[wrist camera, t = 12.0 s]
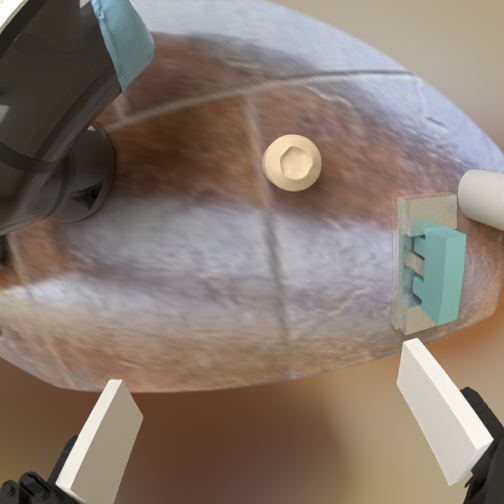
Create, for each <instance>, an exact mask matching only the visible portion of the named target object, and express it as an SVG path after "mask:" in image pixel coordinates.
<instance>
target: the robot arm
mask: <svg viewBox="0 0 504 504" xmlns="http://www.w3.org/2000/svg"><path fill="white" fill-rule="evenodd" d="M154 53H155V45H154V42H153V39H152V37H151V35H150V33H149V31H148V29H147V27H146V26H145V24H144V22H143V21H142V19H141V17H140V16H139V14H138V13H137V11H136V10H135V9H134V7H133V6H132V4H131V3H130V2H129V0H0V236H2V235H4V234H7V233H9V232H12V231H14V230H17V229H19V228H22V227H24V226H27V225H29V224H32V223H35V222H37V221H40V220H43V219H45V220H50V221H56V222H61V223H70V222H75V221H78V220H81V219H83V218H86V217H88V216H90V215H91V214H93V213H94V212H95V211H96V210H98V209H99V207H100V206H101V205H102V204H103V202H104V201H105V199H106V198H107V196H108V194H109V192H110V189H111V186H112V183H113V179H114V173H115V155H114V149H113V146H112V143H111V140H110V138H109V136H108V134H107V133H106V131H105V130H104V129H103V128H102V127H101V126H100V125H99V124H98V123H97V122H95V120H96V119H97V118H98V117H99V116H100V115H101V113H102V112H103V111H104V110H105V109H106V108H107V107H108V106H109V105H110V104H111V103H112V102H113V101H114V100H115V99H116V98H117V97H118V96H119V95H120V94H121V93H122V94H123V93H124V92H125V91H126V90H127V86H128V85H129V84H130V83H131V82H132V81H133V80H134V79H135V78H136V77H137V76H138V75H139V74H140V73H141V72H142V71H143V70H144V69H145V68H146V67H147V66H148V65H149V64H150V63H151V61H152V59H153V57H154ZM397 386H398V388H399V390H400V391H401V393H402V395H403V397H404V399H405V400H406V402H407V404H408V406H409V408H410V409H411V411H412V413H413V415H414V417H415V419H416V421H417V422H418V424H419V426H420V428H421V430H422V432H423V434H424V436H425V437H426V439H427V441H428V443H429V445H430V447H431V449H432V451H433V453H434V455H435V457H436V459H437V461H438V463H439V465H440V467H441V469H442V471H443V473H444V476H445V477H446V480H447V482H448V484H449V486H450V485H452V484H454V483H456V482H458V481H459V480H461V479H463V478H465V477H466V476H467V474H468V473H469V472H470V471H471V472H472V473H473V476H472V477H471V478H470V480H469V481H468V482H467V483H466V485H465V488H466V487H467V486H468V485H469V484H470V485H469V488H468V491H467V494H466V497H465V500H464V503H463V504H504V427H503V426H502V424H501V423H500V422H499V420H498V419H497V417H496V416H495V415H494V414H493V412H492V411H491V409H490V408H488V406H487V404H486V403H485V402H484V401H483V399H482V398H481V396H480V395H479V394H478V393H477V392H476V391H474V390H472V389H471V388H469V387H466V388H464V389H462V390H460V391H459V390H458V388H457V387H456V386H455V384H454V383H453V382H452V381H451V379H450V378H449V377H448V375H447V374H446V373H445V371H444V370H443V369H442V368H441V366H440V365H439V364H438V363H437V361H436V360H435V359H434V358H433V356H432V355H431V354H430V353H429V351H428V350H427V349H426V348H425V347H424V345H423V344H422V343H421V342H420V340H419V339H418V338H414V339H411V340H408V341H405V342H403V348H402V355H401V361H400V367H399V374H398V379H397ZM142 420H143V415H142V414H141V412H140V411H139V409H138V407H137V405H136V404H135V402H134V400H133V398H132V396H131V395H130V393H129V391H128V389H127V387H126V386H125V384H124V382H123V380H109V382H108V384H107V385H106V387H105V389H104V391H103V393H102V394H101V396H100V398H99V400H98V401H97V404H96V405H95V407H94V409H93V411H92V413H91V414H90V416H89V418H88V420H87V422H86V424H85V425H84V427H83V429H82V431H81V433H80V435H79V436H76V435H74V436H73V437H72V438H71V439H70V440H69V441H68V442H67V444H66V446H65V448H64V450H63V452H62V453H61V455H60V459H58V461H57V463H56V465H55V467H54V469H53V471H52V473H51V475H50V477H49V479H48V481H47V482H46V481H44V480H43V479H42V478H41V477H40V476H39V475H38V474H37V473H35V472H32V471H31V472H26V473H24V474H23V475H22V476H21V477H20V479H19V482H18V484H17V483H16V482H15V481H13V480H8V481H6V482H4V483H3V485H2V486H1V489H0V504H113V503H114V500H115V497H116V494H117V491H118V488H119V485H120V482H121V479H122V476H123V473H124V470H125V467H126V464H127V461H128V459H129V456H130V453H131V450H132V447H133V444H134V442H135V439H136V436H137V433H138V430H139V428H140V425H141V422H142Z"/></svg>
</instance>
